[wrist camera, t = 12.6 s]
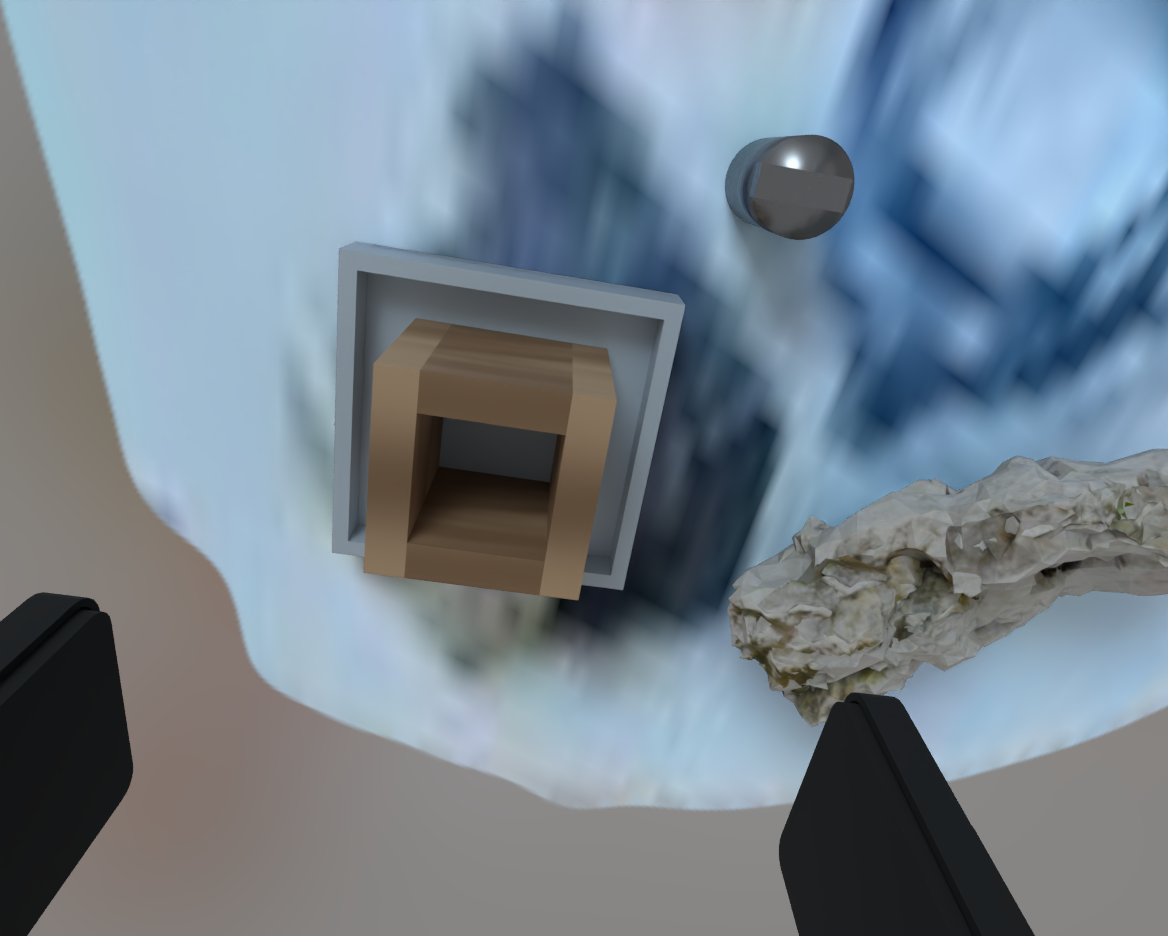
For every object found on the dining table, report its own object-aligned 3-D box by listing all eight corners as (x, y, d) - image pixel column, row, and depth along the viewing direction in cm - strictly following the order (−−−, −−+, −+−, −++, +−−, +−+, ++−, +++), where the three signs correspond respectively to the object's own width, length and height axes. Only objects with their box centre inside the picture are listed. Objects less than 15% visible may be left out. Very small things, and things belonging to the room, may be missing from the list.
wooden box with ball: (415, 318, 26) (373, 363, 20) (607, 348, 26) (617, 400, 21) (401, 521, 29) (361, 608, 23) (571, 544, 29) (571, 634, 24)
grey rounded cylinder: (816, 146, 24) (876, 144, 19) (793, 231, 25) (844, 249, 20) (732, 130, 24) (771, 124, 19) (712, 217, 25) (745, 232, 20)
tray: (677, 294, 26) (685, 305, 24) (619, 563, 31) (623, 590, 29) (356, 241, 25) (339, 248, 23) (346, 527, 30) (331, 552, 28)
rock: (777, 573, 37) (777, 766, 30) (713, 427, 30) (696, 632, 24) (1248, 522, 29) (1392, 770, 22) (1299, 309, 22) (1524, 568, 16)
